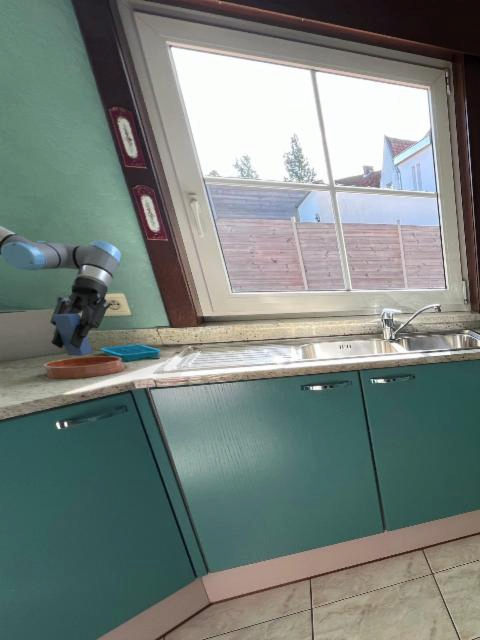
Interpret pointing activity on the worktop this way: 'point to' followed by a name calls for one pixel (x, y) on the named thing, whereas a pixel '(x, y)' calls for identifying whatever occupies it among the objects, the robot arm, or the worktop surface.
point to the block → (71, 333)
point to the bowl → (84, 367)
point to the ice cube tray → (132, 352)
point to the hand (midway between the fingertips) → (65, 345)
